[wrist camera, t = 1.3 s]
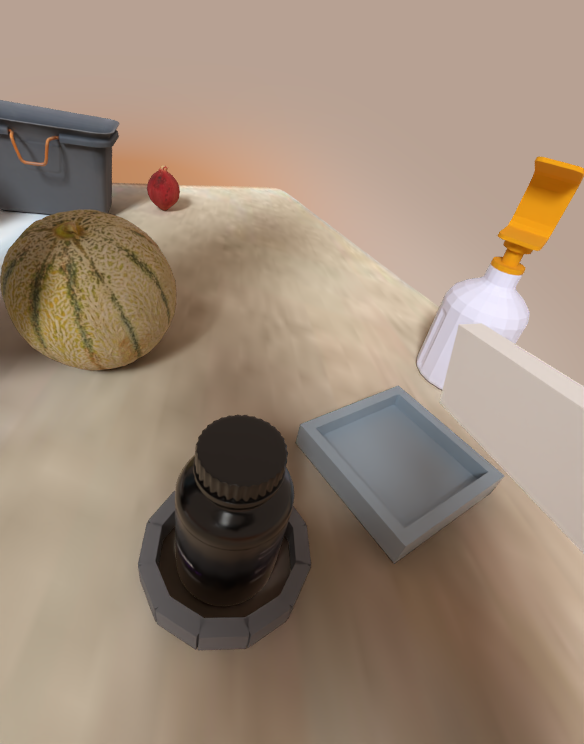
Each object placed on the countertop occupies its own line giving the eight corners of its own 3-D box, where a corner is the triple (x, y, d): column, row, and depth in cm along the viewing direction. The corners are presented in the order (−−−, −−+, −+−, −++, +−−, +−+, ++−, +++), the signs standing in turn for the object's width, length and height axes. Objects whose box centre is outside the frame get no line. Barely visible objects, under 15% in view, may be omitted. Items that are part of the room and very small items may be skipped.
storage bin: (128, 202, 79) (121, 117, 70) (119, 232, 67) (110, 135, 59) (2, 190, 73) (-23, 96, 64) (-31, 220, 62) (-66, 111, 53)
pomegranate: (171, 218, 76) (170, 172, 71) (142, 210, 76) (139, 165, 72) (184, 210, 81) (184, 166, 76) (157, 203, 81) (155, 159, 76)
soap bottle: (404, 372, 49) (501, 149, 34) (430, 344, 56) (522, 145, 40) (474, 409, 46) (617, 180, 31) (494, 375, 52) (621, 171, 37)
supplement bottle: (153, 578, 26) (142, 462, 19) (211, 499, 32) (219, 384, 24) (245, 632, 25) (272, 529, 17) (290, 540, 30) (325, 430, 23)
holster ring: (120, 529, 28) (117, 513, 27) (254, 470, 34) (257, 455, 33) (182, 693, 22) (182, 682, 21) (334, 587, 28) (341, 573, 27)
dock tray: (295, 442, 38) (300, 424, 36) (390, 402, 44) (398, 385, 43) (394, 563, 30) (405, 546, 28) (491, 492, 37) (504, 475, 35)
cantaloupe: (166, 313, 51) (162, 188, 42) (188, 390, 41) (189, 247, 31) (30, 320, 45) (-10, 177, 36) (15, 411, 35) (-46, 244, 26)
